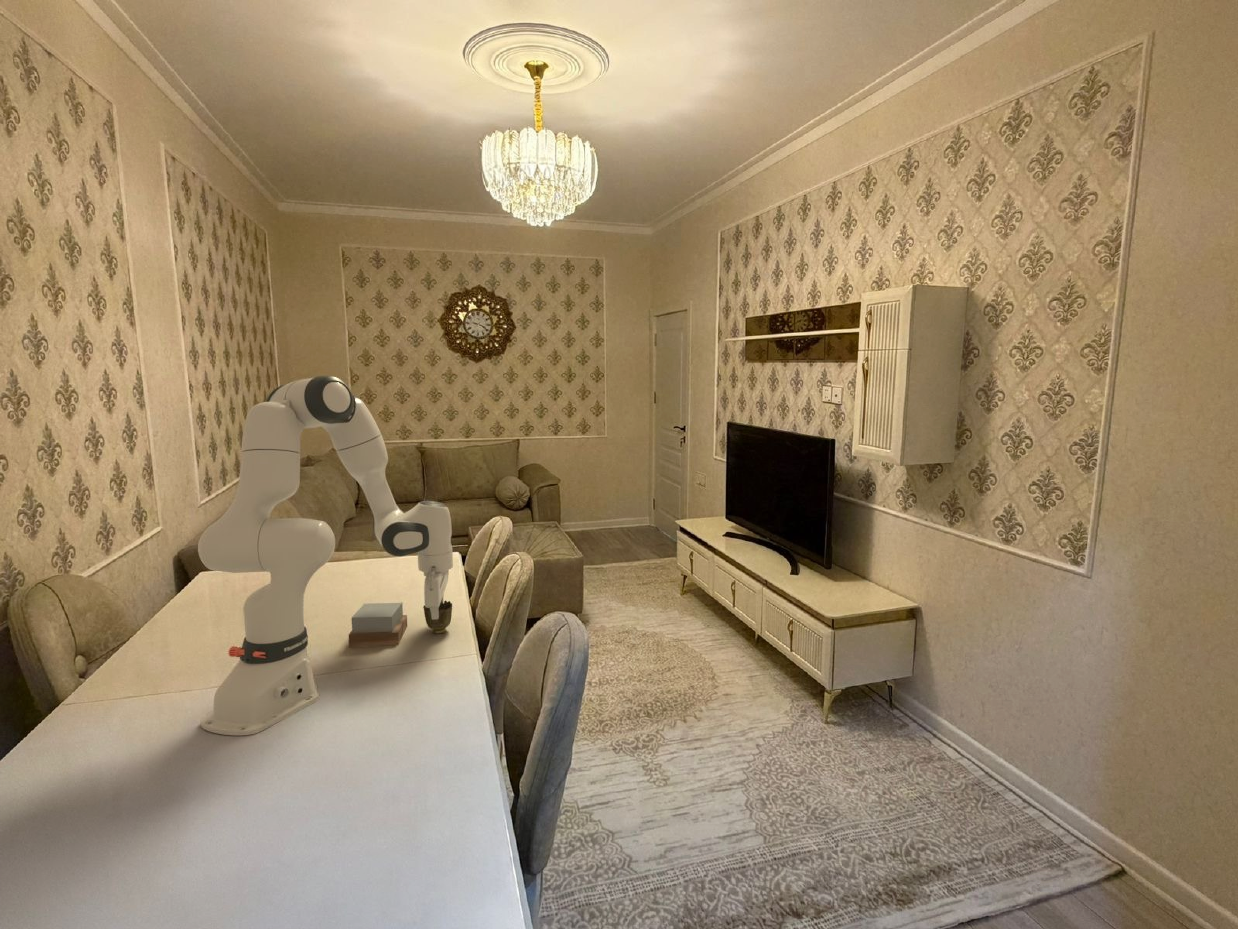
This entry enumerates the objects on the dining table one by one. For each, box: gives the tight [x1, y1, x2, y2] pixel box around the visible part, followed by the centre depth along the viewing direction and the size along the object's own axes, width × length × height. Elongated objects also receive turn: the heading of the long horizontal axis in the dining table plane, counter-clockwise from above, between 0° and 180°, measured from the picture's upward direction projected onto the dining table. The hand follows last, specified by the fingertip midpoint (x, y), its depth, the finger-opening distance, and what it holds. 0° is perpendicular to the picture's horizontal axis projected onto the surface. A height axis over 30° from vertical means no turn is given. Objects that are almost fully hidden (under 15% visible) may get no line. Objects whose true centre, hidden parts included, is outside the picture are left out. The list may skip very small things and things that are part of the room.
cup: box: [422, 600, 453, 635], centre depth 169 cm, size 8×7×8 cm
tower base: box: [348, 614, 408, 649], centre depth 167 cm, size 12×12×4 cm
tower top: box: [350, 602, 404, 633], centre depth 166 cm, size 10×10×4 cm
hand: (437, 611), depth 169 cm, fingers open, 8 cm apart
